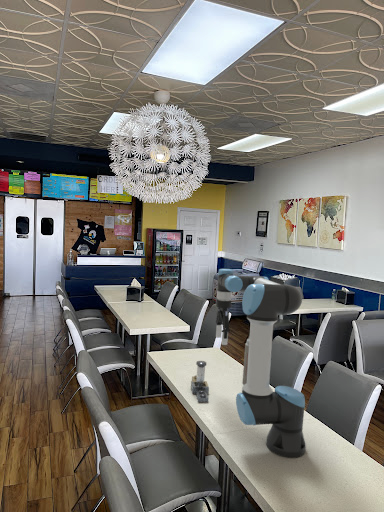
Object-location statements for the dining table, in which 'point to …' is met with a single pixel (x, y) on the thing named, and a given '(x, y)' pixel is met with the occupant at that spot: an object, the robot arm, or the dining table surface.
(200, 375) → the pin
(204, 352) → the dining table surface
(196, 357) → the dining table surface
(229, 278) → the robot arm
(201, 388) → the chain ends
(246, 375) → the thermos bottle
